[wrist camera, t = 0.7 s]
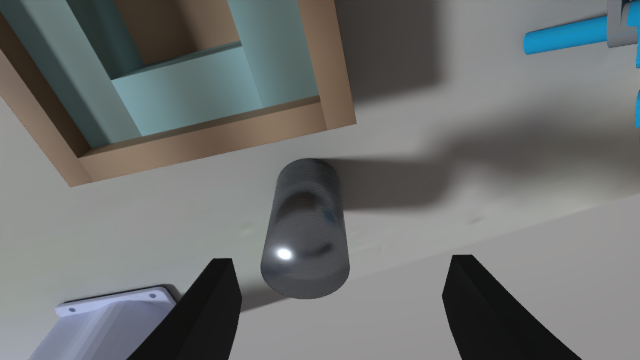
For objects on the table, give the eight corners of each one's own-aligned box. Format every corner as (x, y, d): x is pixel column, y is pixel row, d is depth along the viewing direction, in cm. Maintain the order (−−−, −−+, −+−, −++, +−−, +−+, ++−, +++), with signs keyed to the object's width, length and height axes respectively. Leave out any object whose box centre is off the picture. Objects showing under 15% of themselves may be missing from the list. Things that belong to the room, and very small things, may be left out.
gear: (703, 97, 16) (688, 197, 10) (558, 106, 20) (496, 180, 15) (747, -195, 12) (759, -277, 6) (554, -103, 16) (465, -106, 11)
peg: (287, 216, 22) (275, 304, 16) (268, 165, 20) (247, 245, 14) (345, 205, 21) (356, 291, 15) (332, 152, 19) (340, 227, 13)
